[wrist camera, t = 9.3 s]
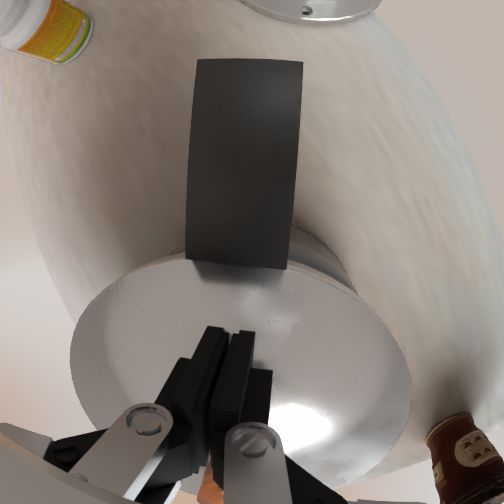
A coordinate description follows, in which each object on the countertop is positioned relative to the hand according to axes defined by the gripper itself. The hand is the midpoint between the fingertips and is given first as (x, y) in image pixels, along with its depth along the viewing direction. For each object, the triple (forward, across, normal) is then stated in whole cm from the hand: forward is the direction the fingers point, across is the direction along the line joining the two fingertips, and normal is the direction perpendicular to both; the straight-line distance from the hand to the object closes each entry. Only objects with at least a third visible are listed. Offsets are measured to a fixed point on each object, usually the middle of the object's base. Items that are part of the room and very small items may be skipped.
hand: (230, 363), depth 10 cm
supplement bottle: (+11, +18, -19) cm, 29 cm away
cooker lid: (+1, 0, +1) cm, 2 cm away
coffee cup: (+12, -24, +18) cm, 32 cm away
